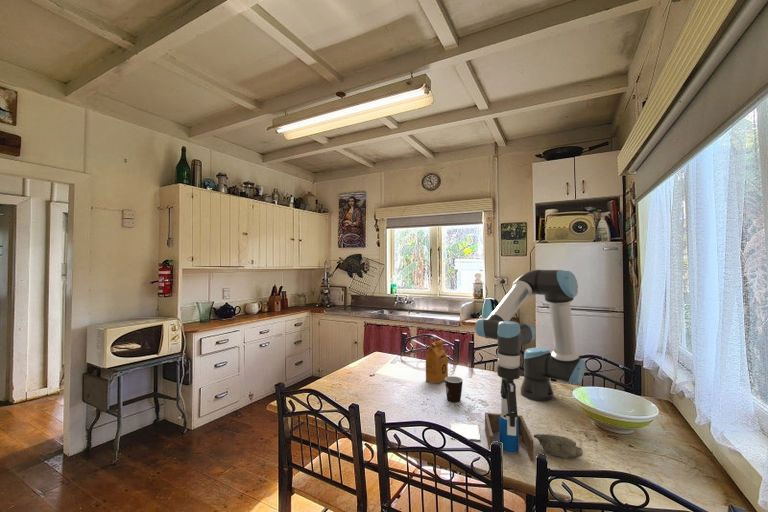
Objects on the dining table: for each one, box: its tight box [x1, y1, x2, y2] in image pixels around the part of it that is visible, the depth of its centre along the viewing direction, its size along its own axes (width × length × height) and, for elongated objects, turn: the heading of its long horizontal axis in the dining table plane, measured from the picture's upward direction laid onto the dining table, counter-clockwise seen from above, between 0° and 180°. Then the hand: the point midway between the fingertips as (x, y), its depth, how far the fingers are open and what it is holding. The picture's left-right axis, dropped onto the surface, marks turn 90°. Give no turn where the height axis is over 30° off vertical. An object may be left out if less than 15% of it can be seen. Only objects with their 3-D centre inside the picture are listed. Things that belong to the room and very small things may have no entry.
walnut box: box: [484, 411, 534, 462], centre depth 121 cm, size 14×18×7 cm
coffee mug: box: [444, 375, 464, 404], centre depth 161 cm, size 12×9×10 cm
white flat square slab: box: [450, 422, 481, 442], centre depth 130 cm, size 11×11×1 cm
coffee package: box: [425, 339, 449, 384], centre depth 185 cm, size 10×12×22 cm
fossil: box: [533, 433, 584, 459], centre depth 116 cm, size 14×10×10 cm
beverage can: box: [498, 413, 520, 455], centre depth 118 cm, size 6×6×12 cm
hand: (508, 425), depth 118 cm, fingers open, 13 cm apart
